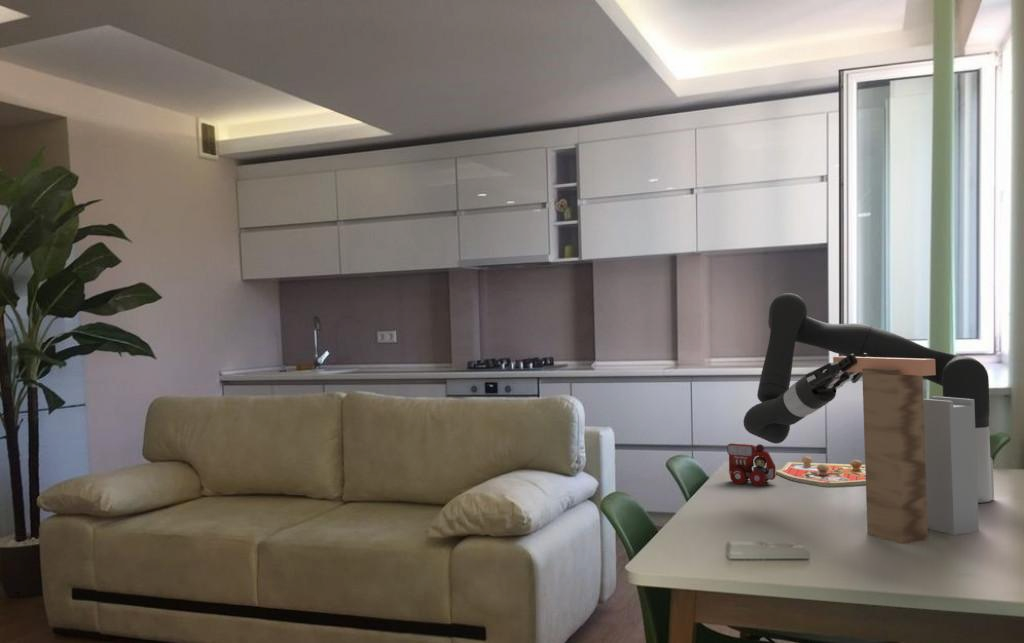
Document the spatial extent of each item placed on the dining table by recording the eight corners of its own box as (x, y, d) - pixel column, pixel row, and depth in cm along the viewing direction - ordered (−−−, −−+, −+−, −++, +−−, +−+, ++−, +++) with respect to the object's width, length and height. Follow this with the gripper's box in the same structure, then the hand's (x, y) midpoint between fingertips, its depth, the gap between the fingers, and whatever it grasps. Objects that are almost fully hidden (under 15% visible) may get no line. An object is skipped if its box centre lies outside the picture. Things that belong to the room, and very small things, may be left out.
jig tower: (893, 529, 157) (887, 366, 157) (927, 538, 149) (922, 368, 150) (867, 533, 154) (862, 368, 154) (901, 543, 147) (895, 370, 147)
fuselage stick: (844, 370, 165) (843, 356, 165) (935, 375, 145) (935, 359, 145) (833, 371, 164) (833, 356, 164) (924, 375, 144) (923, 359, 144)
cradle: (938, 520, 162) (934, 396, 163) (978, 530, 154) (974, 399, 154) (914, 524, 160) (910, 398, 160) (953, 535, 151) (949, 401, 152)
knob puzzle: (888, 471, 219) (888, 455, 219) (893, 492, 192) (892, 474, 192) (780, 466, 231) (780, 451, 231) (770, 486, 204) (769, 469, 204)
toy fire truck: (771, 487, 200) (770, 447, 200) (724, 483, 207) (723, 444, 207) (778, 482, 206) (777, 443, 206) (732, 478, 213) (730, 440, 213)
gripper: (777, 381, 172) (827, 342, 158) (826, 377, 177) (878, 340, 163) (790, 411, 168) (842, 375, 154) (839, 407, 174) (894, 371, 160)
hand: (860, 357), depth 159 cm, fingers closed on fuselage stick, 3 cm apart
